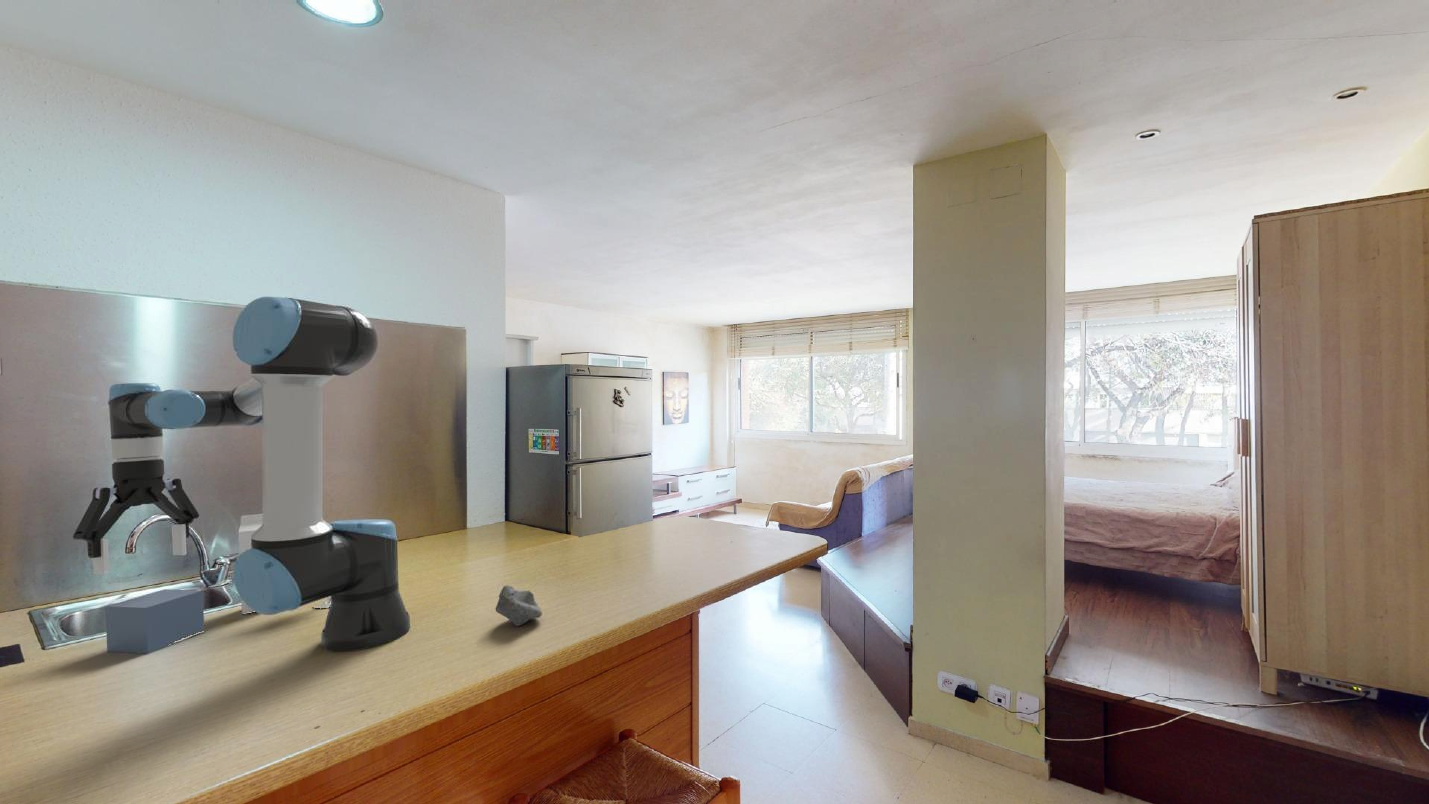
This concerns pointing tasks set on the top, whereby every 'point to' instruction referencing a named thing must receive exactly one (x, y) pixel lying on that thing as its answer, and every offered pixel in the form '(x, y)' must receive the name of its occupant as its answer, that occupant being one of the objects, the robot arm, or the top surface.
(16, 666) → the top surface
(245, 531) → the milk
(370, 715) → the top surface
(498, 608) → the grey rock
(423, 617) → the top surface
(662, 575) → the top surface
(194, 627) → the blue gray block
